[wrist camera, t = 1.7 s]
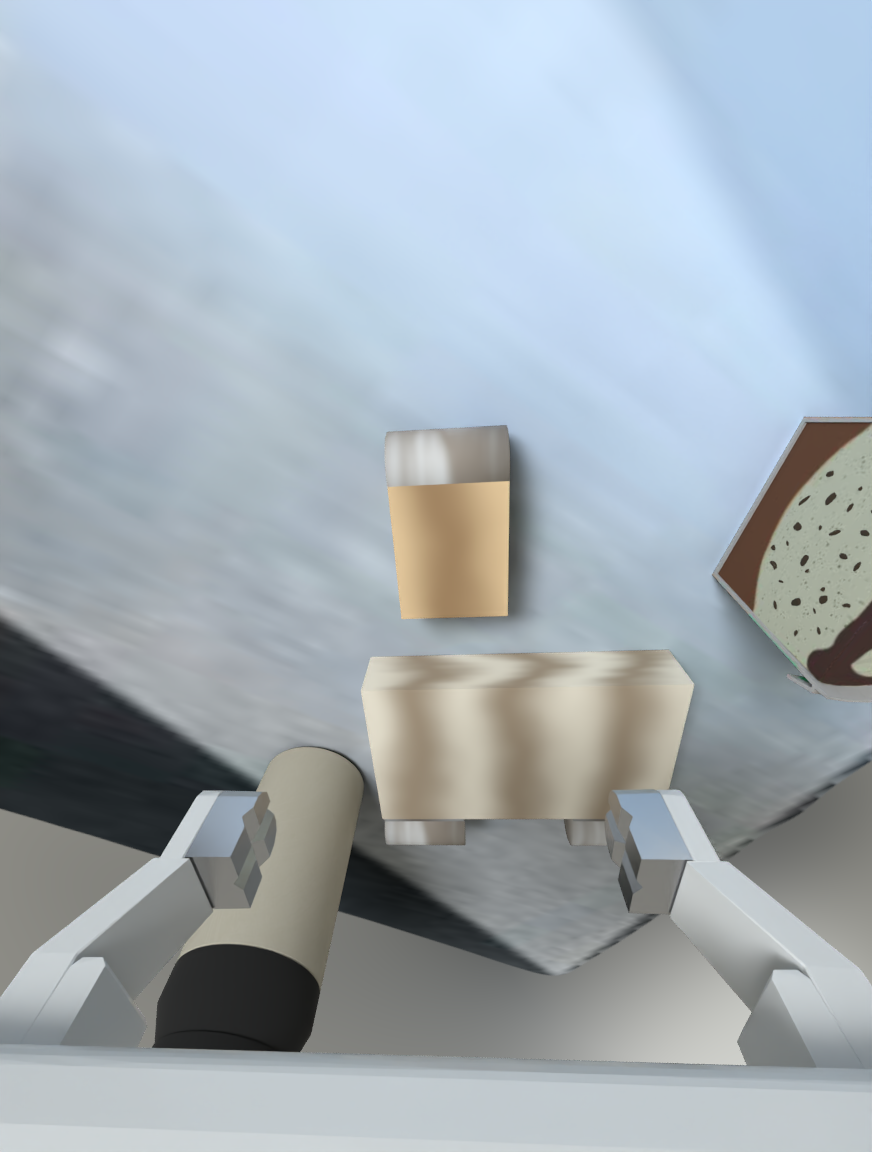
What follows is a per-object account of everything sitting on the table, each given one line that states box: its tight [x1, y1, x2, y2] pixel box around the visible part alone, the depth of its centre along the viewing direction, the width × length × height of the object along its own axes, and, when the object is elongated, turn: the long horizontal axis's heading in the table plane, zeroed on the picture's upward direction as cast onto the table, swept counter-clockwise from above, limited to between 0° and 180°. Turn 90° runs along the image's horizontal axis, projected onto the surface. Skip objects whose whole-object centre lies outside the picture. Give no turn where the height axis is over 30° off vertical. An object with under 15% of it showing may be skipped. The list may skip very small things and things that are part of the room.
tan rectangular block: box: [385, 425, 510, 619], centre depth 24 cm, size 6×10×4 cm, turn 3°
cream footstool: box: [361, 650, 694, 846], centre depth 32 cm, size 20×16×4 cm
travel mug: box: [152, 747, 364, 1052], centre depth 28 cm, size 8×8×18 cm
